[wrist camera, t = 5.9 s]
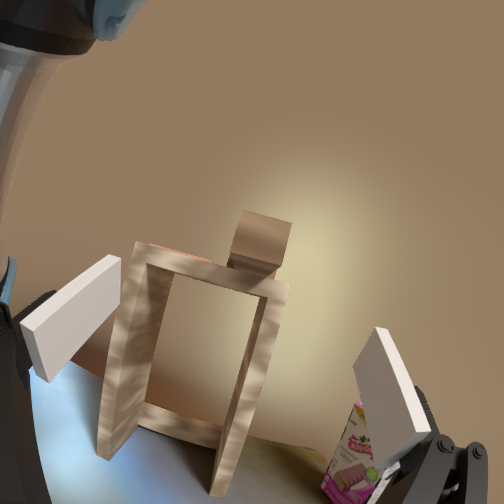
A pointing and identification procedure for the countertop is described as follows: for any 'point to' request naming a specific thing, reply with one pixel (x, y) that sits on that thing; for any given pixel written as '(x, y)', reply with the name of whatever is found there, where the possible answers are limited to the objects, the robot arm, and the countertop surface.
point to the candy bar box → (355, 466)
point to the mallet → (259, 244)
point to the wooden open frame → (143, 347)
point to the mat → (182, 253)
